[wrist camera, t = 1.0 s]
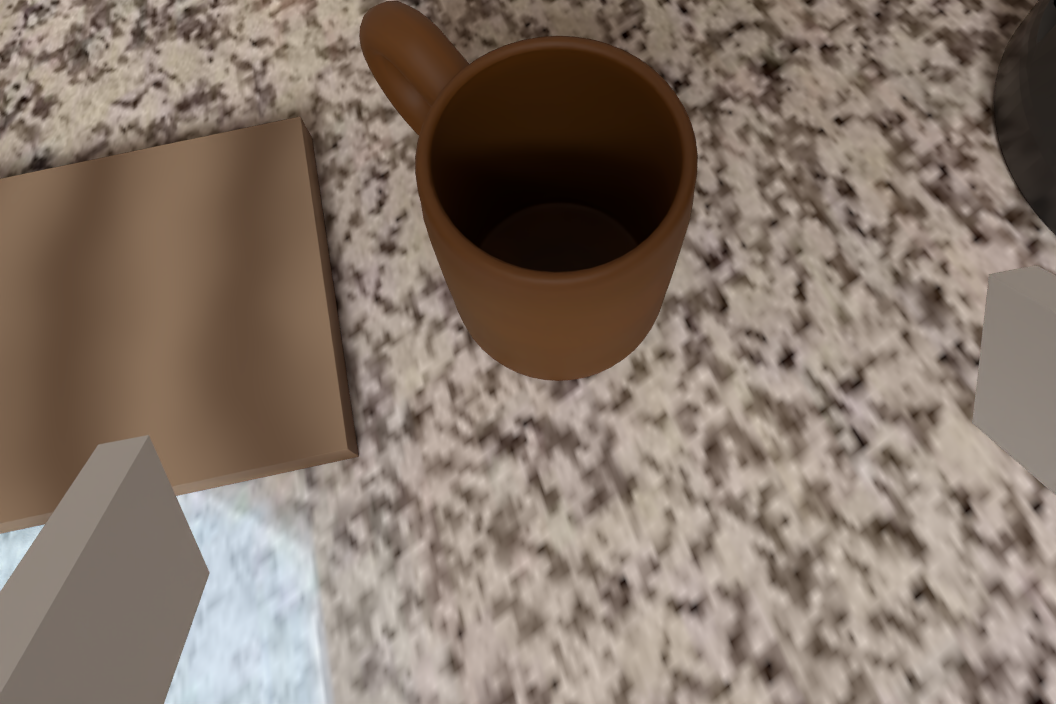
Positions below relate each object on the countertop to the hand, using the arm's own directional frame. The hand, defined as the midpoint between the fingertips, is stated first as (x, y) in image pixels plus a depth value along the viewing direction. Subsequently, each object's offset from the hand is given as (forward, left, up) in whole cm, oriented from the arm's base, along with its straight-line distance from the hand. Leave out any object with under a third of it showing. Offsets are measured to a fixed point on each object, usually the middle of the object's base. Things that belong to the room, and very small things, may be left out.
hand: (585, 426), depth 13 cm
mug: (0, -10, -15) cm, 19 cm away
